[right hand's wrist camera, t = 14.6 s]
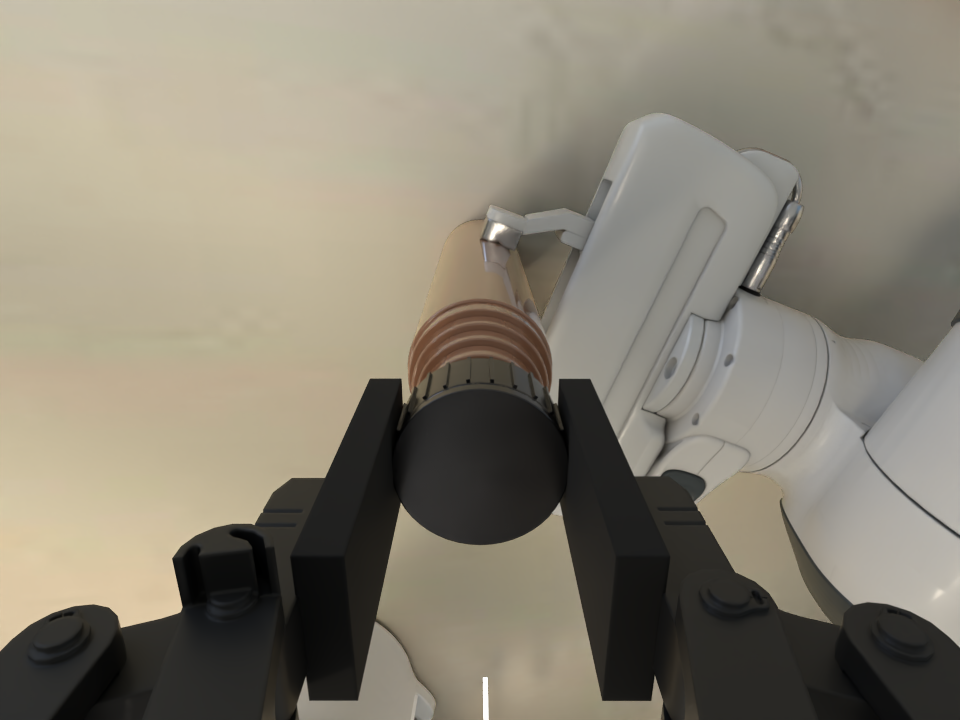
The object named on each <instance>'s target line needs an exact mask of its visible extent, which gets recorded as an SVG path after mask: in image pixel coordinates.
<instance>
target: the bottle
mask: <svg viewBox="0 0 960 720" xmlns="http://www.w3.org/2000/svg"><path fill="white" fill-rule="evenodd" d="M483 222H484V220H472V221H468V222H465V223H463V224H461V225H460V226H458V227H457V228H456V229H454V230H453V231H452V232H451V234H450V235H449V236H448V238H447V240H446V242H445V244H444V247H443V250H442V253H441V256H440V259H439V262H438V265H437V268H436V271H435V274H434V277H433V280H432V283H431V287H430V290H429V293H428V296H427V299H426V302H425V305H424V308H423V311H422V314H421V317H420V320H419V323H418V326H417V329H416V332H415V335H414V339H413V342H412V345H411V348H410V352H409V357H408V382H409V388H410V392H411V393H412V389H413V387H414V386H415V387H417V386H418V385H419V384H420V383H421V382H422V381H423V380H424V379H425V378H426V377H427V373H429V372H431V373H433V372H434V371H436V370H437V369H439V368H441V367H443V366H445V365H446V363H447V362H450V363H452V362H456V361H460V360H465V359H467V357H471V359H472V358H488V359H489V357H493V359H495V360H501V361H504V362H507V363H511V362H514V364H515V366H517V367H520V368H522V369H523V370H525V371H526V372H528V373H530V372H532V373H533V376H534V378H536V379H537V380H538V381H539V382H540V383H541V384H542V385H543V386H544V387H545V386H547V388H548V391H549V393H550V390H551V384H552V355H551V351H550V347H549V344H548V341H547V338H546V335H545V332H544V329H543V326H542V323H541V320H540V317H539V314H538V311H537V307H536V304H535V301H534V298H533V295H532V292H531V289H530V286H529V283H528V280H527V277H526V274H525V271H524V268H523V265H522V262H521V259H520V256H519V253H518V250H517V247H516V249H515V251H513V250H510V249H508V248H505V247H503V246H501V244H500V243H499V241H497V242H490V241H487V240H485V239H483V238H481V237H480V236H479V235H480V231H481V228H482V225H483Z"/></svg>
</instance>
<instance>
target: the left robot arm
mask: <svg viewBox="0 0 960 720" xmlns="http://www.w3.org/2000/svg"><path fill="white" fill-rule="evenodd" d="M792 190H793V193H792V198H791V200H787V199H788V197H789V195H790V194H791V192H792ZM802 191H803V185H802V180H801V176H800V174H799V171H798V169H797V168H796V167H795V166H794V165H793V164H792V163H791V162H789V161H788V160H786V159H784V158H781V157H779V156H777V155H774V154H772V153H770V152H768V151H765V150H763V149H759V148H743V149H740V150H737V151H736V150H734V149H732V148H731V147H729V146H728V145H726V144H725V143H723V142H722V141H720V140H718V139H717V138H715V137H713V136H712V135H710V134H708V133H706V132H705V131H703V130H701V129H699V128H697V127H695V126H693V125H691V124H689V123H687V122H686V121H684V120H681V119H679V118H677V117H675V116H672V115H669V114H665V113H652V114H648V115H645V116H643V117H640V118H638V119H636V120H633V121H631V122H629V123H628V124H627V125H626V126H625V127H624V129H623V131H622V133H621V136H620V138H619V140H618V142H617V145H616V147H615V149H614V152H613V154H612V156H611V159H610V161H609V163H608V165H607V168H606V170H605V172H604V175H603V177H602V179H601V182H600V184H599V186H598V189H597V191H596V193H595V195H594V198H593V200H592V202H591V205H590V207H589V209H588V212H587V214H586V216H584V215H581V214H579V213H576V212H574V211H571V210H569V209H566V208H561V209H555V210H550V211H544V212H538V213H532V214H526V215H525V217H523V216H520V215H518V214H515V213H513V212H510V211H508V210H505V209H503V208H500V207H497V206H494V205H490V206H489V209H488V212H487V214H486V217H485V220H484V222H483V225H482V228H481V231H480V235H479V236H480V237H481V238H483V239H485V240H487V241H490V242H497V241H499V243H500V244H501V246H503V247H505V248H508V249H510V250H513V251H515V249H516V247H517V244H518V242H519V240H520V237H521V235H529V234H536V233H542V232H549V231H555V234H556V236H557V237H558V239H559V240H560V241H561V242H562V243H564V244H567V245H569V246H571V247H572V248H571V251H570V253H569V255H568V258H567V260H566V262H565V265H564V267H563V269H562V272H561V274H560V276H559V278H558V281H557V283H556V285H555V288H554V290H553V292H552V295H551V297H550V299H549V301H548V304H547V306H546V308H545V311H544V313H543V315H542V318H541V323H542V326H543V329H544V332H545V335H546V338H547V341H548V344H549V347H550V351H551V355H552V384H551V390H550V393H549V395H550V396H551V398H552V400H553V402H554V403H557V405H558V389H559V379H591V381H592V384H593V386H594V388H595V390H596V392H597V395H598V397H599V399H600V401H601V403H602V406H603V408H604V410H605V412H606V415H607V417H608V419H609V421H610V423H611V426H612V428H613V430H614V432H615V435H616V437H617V439H618V441H619V443H620V446H621V448H622V450H623V452H624V454H625V457H626V459H627V461H628V463H629V466H630V468H631V470H632V472H633V474H634V476H669V477H670V478H671V479H673V480H674V481H675V482H677V483H678V484H679V485H681V486H682V487H683V488H685V489H686V490H687V491H688V492H689V494H690V496H691V498H692V499H693V501H694V503H695V504H697V503H698V502H699V501H700V500H702V499H703V498H704V497H705V496H706V495H708V494H709V493H710V492H711V491H713V490H714V489H715V488H716V487H718V486H719V485H720V484H722V483H723V482H724V481H726V480H727V479H729V478H730V477H732V476H733V475H734V474H736V473H737V472H739V471H740V472H745V473H754V474H760V475H763V476H766V477H768V478H770V479H771V480H773V481H774V482H775V483H776V484H777V485H778V486H779V487H780V488H781V490H782V492H783V498H781V500H780V507H781V512H782V516H783V520H784V524H785V527H786V530H787V533H788V536H789V539H790V542H791V545H792V548H793V551H794V554H795V557H796V560H797V563H798V566H799V569H800V572H801V575H802V577H803V579H804V582H805V584H806V586H807V588H808V589H809V591H810V593H811V594H812V596H813V598H814V599H815V601H816V602H817V604H818V605H819V607H820V608H821V609H822V611H823V612H824V614H825V615H826V616H827V617H828V619H829V620H830V621H831V622H832V623H833V624H835V625H839V626H840V625H841V622H842V618H843V614H844V613H845V612H846V611H847V610H848V609H849V608H850V607H851V606H852V605H856V604H861V603H865V602H872V603H882V604H889V605H892V606H895V607H898V608H901V609H905V610H908V611H910V612H912V613H914V614H916V615H918V616H920V617H922V618H924V619H926V620H927V621H929V622H931V623H932V624H934V625H935V626H936V627H937V628H939V629H940V630H941V631H942V632H944V633H945V634H946V635H948V636H949V637H950V638H951V639H952V640H953V641H954V642H955V643H956V644H957V645H958V646H959V647H960V310H959V312H958V313H957V315H956V316H955V318H954V319H953V321H952V322H951V326H952V329H951V330H950V331H949V333H948V334H947V335H946V336H945V337H944V339H943V340H942V341H941V342H940V344H939V345H938V346H937V347H936V349H935V350H934V351H933V352H932V354H931V355H930V356H929V357H928V359H927V360H926V361H925V362H924V361H922V360H919V359H917V358H915V357H913V356H911V355H908V354H906V353H904V352H901V351H899V350H897V349H894V348H892V347H889V346H887V345H884V344H881V343H878V342H875V341H871V340H865V339H853V338H845V337H842V336H840V335H838V334H836V333H834V332H833V331H832V330H831V329H830V328H829V327H828V326H826V325H825V324H824V323H822V322H821V321H820V320H818V319H816V318H815V317H813V316H810V315H808V314H806V313H803V312H800V311H798V310H795V309H793V308H790V307H788V306H785V305H783V304H780V303H778V302H775V301H773V300H770V299H768V298H765V297H763V296H761V295H760V294H759V293H760V292H761V290H762V288H763V286H764V284H765V283H766V281H767V279H768V277H769V275H770V273H771V272H772V270H773V268H774V266H775V264H776V262H777V258H778V257H779V255H780V254H779V253H780V252H781V250H782V247H783V246H784V244H785V243H784V242H785V241H786V240H787V238H788V237H789V235H790V233H793V231H794V230H795V228H796V227H797V225H798V223H799V221H800V219H801V216H802V214H803V210H804V206H803V205H801V204H799V203H800V200H801V196H802ZM552 514H554V515H558V516H562V517H563V515H562V511H561V506H560V502H559V504H558V506H557V507H556V509H555V510H554V511H553V512H552ZM483 699H484V720H488V680H487V678H483ZM435 706H436V701H435V699H434V697H433V695H432V694H431V693H430V692H429V691H428V690H427V689H426V688H425V687H424V686H423V685H422V684H421V683H420V682H419V681H418V680H417V679H416V677H415V675H414V673H413V670H412V667H411V664H410V661H409V659H408V657H407V654H406V652H405V651H404V649H403V648H402V646H401V645H400V643H399V642H398V641H397V639H396V638H395V637H394V636H393V635H392V634H391V633H390V632H389V631H388V630H386V629H385V628H384V627H383V626H381V625H380V624H378V623H377V622H375V624H374V629H373V633H372V638H371V643H370V647H369V652H368V657H367V661H366V666H365V670H364V675H363V680H362V684H361V689H360V694H359V698H358V701H309V695H308V688H307V680H306V677H305V681H304V684H303V687H302V690H301V693H300V696H299V699H298V702H297V708H298V715H299V720H431V719H432V717H433V715H434V710H435Z"/></svg>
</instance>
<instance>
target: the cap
mask: <svg viewBox="0 0 960 720" xmlns="http://www.w3.org/2000/svg"><path fill="white" fill-rule="evenodd" d="M564 432H565V430H564V426H563V423H562V419H561V416H560V412H559V409H558V405H557V403H554V402H553V400H552V398H551V396H550V395H549V391H548V388H547V386H545V387H544V386H543V385H542V384H541V383H540V382H539V381H538V380H537V379H536V378H534V376H533V373H532V372H530V373H528V372H526V371H525V370H523V369H522V368H520V367H517V366H515V364H514V362H511V363H507V362H504V361H501V360H495V359H493V357H489V359H488V358H472V359H471V357H467V359H465V360H460V361H456V362H452V363H450V362H447V363H446V365H445V366H443V367H441V368H439V369H437V370H436V371H434V372H433V373H431V372H429V373H427V377H426V378H425V379H424V380H423V381H422V382H421V383H420V384H419V385H418V386H417V387H415V386H414V387H413V389H412V393H411V396H410V398H409V400H408V402H407V404H405V403H404V404H403V407H402V411H401V414H400V418H399V421H398V425H397V428H396V433H398V434H397V437H396V441H395V445H394V448H393V453H392V470H393V484H394V488H395V491H396V493H397V495H398V498H399V500H400V501H401V503H402V505H403V506H404V508H405V509H406V510H407V512H408V513H409V514H410V515H411V516H412V517H413V518H414V519H415V520H416V521H417V522H418V523H419V524H420V525H422V526H423V527H424V528H426V529H427V530H429V531H430V532H432V533H434V534H436V535H438V536H440V537H443V538H445V539H448V540H451V541H455V542H458V543H464V544H472V545H489V544H497V543H502V542H506V541H510V540H513V539H515V538H518V537H520V536H523V535H525V534H526V533H528V532H530V531H532V530H533V529H535V528H536V527H538V526H539V525H540V524H542V523H543V522H544V521H545V520H546V519H547V518H548V517H549V516H550V515H551V514H552V512H553V511H554V510H555V509H556V507H557V506H558V504H559V502H560V501H561V499H562V497H563V494H564V492H565V490H566V486H567V477H568V459H569V456H568V450H567V446H566V443H565V439H564V435H563V433H564Z"/></svg>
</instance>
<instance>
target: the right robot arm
mask: <svg viewBox="0 0 960 720" xmlns="http://www.w3.org/2000/svg"><path fill="white" fill-rule="evenodd" d="M402 407H403V401H402V381H401V379H370V380H369V382H368V384H367V387H366V389H365V391H364V393H363V396H362V398H361V400H360V402H359V404H358V407H357V409H356V411H355V413H354V416H353V418H352V420H351V422H350V424H349V427H348V429H347V431H346V433H345V435H344V438H343V440H342V442H341V444H340V447H339V449H338V451H337V453H336V455H335V458H334V460H333V462H332V464H331V467H330V469H329V471H328V473H327V475H326V478H292V479H290V480H289V481H288V482H286V483H285V484H284V485H282V486H281V487H280V488H279V489H277V490H276V491H275V492H273V494H272V495H271V497H270V499H269V501H268V502H267V504H266V506H265V508H264V509H263V513H261V514H260V516H259V518H258V520H257V521H256V523H255V525H252V524H230V525H226V526H221V527H216V528H213V529H210V530H208V531H206V532H203V533H201V534H199V535H196V536H195V537H193V538H192V539H191V540H189V541H188V542H187V543H185V544H184V545H182V546H181V547H180V549H179V550H178V551H177V553H176V554H175V555H174V557H173V558H172V560H173V564H174V569H175V574H176V578H177V583H178V587H179V592H180V597H181V601H182V606H183V608H182V611H181V612H180V613H178V614H175V615H172V616H169V617H165V618H162V619H158V620H154V621H149V622H145V623H141V624H136V625H132V626H128V627H124V628H121V627H120V623H119V620H118V616H117V615H116V614H115V613H114V612H113V611H112V610H111V609H110V608H108V607H103V606H98V605H94V604H93V605H83V606H74V607H71V608H67V609H64V610H61V611H58V612H55V613H52V614H50V615H48V616H46V617H44V618H42V619H40V620H39V621H37V622H35V623H33V624H31V625H30V626H28V627H27V628H26V629H25V630H23V631H22V632H21V633H20V634H18V635H17V636H16V637H15V638H13V639H12V640H11V641H10V642H9V643H8V644H7V645H6V646H5V647H4V648H3V649H2V650H1V651H0V720H299V715H298V708H297V702H298V699H299V696H300V693H301V690H302V687H303V684H304V681H305V677H306V680H307V688H308V695H309V701H358V698H359V694H360V689H361V684H362V680H363V675H364V670H365V666H366V661H367V657H368V652H369V647H370V643H371V638H372V633H373V629H374V624H375V619H376V615H377V610H378V605H379V601H380V596H381V592H382V587H383V582H384V578H385V573H386V568H387V564H388V559H389V554H390V550H391V545H392V541H393V536H394V531H395V527H396V522H397V517H398V513H399V508H400V503H401V501H400V500H399V498H398V495H397V493H396V491H395V488H394V484H393V470H392V453H393V448H394V445H395V441H396V437H397V434H398V433H396V428H397V425H398V421H399V418H400V414H401V411H402ZM558 409H559V412H560V416H561V419H562V423H563V426H564V430H565V432H564V433H563V435H564V439H565V443H566V446H567V450H568V456H569V459H568V477H567V486H566V490H565V492H564V494H563V497H562V499H561V501H560V506H561V511H562V515H563V520H564V525H565V529H566V534H567V539H568V543H569V548H570V553H571V557H572V562H573V567H574V571H575V576H576V580H577V585H578V590H579V594H580V599H581V604H582V608H583V613H584V618H585V622H586V627H587V631H588V636H589V641H590V645H591V650H592V655H593V659H594V664H595V669H596V673H597V678H598V682H599V687H600V692H601V696H602V701H651V698H652V691H653V683H654V676H656V680H657V683H658V686H659V689H660V692H661V695H662V698H663V708H662V715H661V720H960V647H959V646H958V645H957V644H956V643H955V642H954V641H953V640H952V639H951V638H950V637H949V636H948V635H946V634H945V633H944V632H942V631H941V630H940V629H939V628H937V627H936V626H935V625H934V624H932V623H931V622H929V621H927V620H926V619H924V618H922V617H920V616H918V615H916V614H914V613H912V612H910V611H908V610H905V609H901V608H898V607H895V606H892V605H889V604H882V603H872V602H865V603H861V604H856V605H852V606H851V607H850V608H849V609H848V610H847V611H846V612H845V613H844V614H843V618H842V622H841V625H840V626H839V625H835V624H830V623H826V622H822V621H817V620H813V619H809V618H804V617H800V616H797V615H793V614H790V613H787V612H784V611H781V610H779V609H778V607H777V605H776V604H775V602H774V600H773V599H772V597H771V596H770V594H769V593H768V592H767V591H766V590H764V589H763V588H762V587H761V586H759V585H758V584H757V583H756V582H754V581H752V580H750V579H748V578H746V577H744V576H742V575H740V574H738V573H735V571H734V570H733V568H732V566H731V565H730V563H729V561H728V559H727V558H726V556H725V554H724V552H723V551H722V549H721V547H720V546H719V544H718V542H717V540H716V539H715V537H714V535H713V534H712V532H711V530H710V528H709V527H708V525H706V522H705V520H704V518H703V516H702V515H701V513H700V511H698V510H697V506H696V504H695V503H694V501H693V499H692V498H691V496H690V494H689V492H688V491H687V490H686V489H685V488H683V487H682V486H681V485H679V484H678V483H677V482H675V481H674V480H673V479H671V478H670V477H669V476H634V474H633V472H632V470H631V468H630V466H629V463H628V461H627V459H626V457H625V454H624V452H623V450H622V448H621V446H620V443H619V441H618V439H617V437H616V435H615V432H614V430H613V428H612V426H611V423H610V421H609V419H608V417H607V415H606V412H605V410H604V408H603V406H602V403H601V401H600V399H599V397H598V395H597V392H596V390H595V388H594V386H593V384H592V381H591V379H559V389H558Z"/></svg>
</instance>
